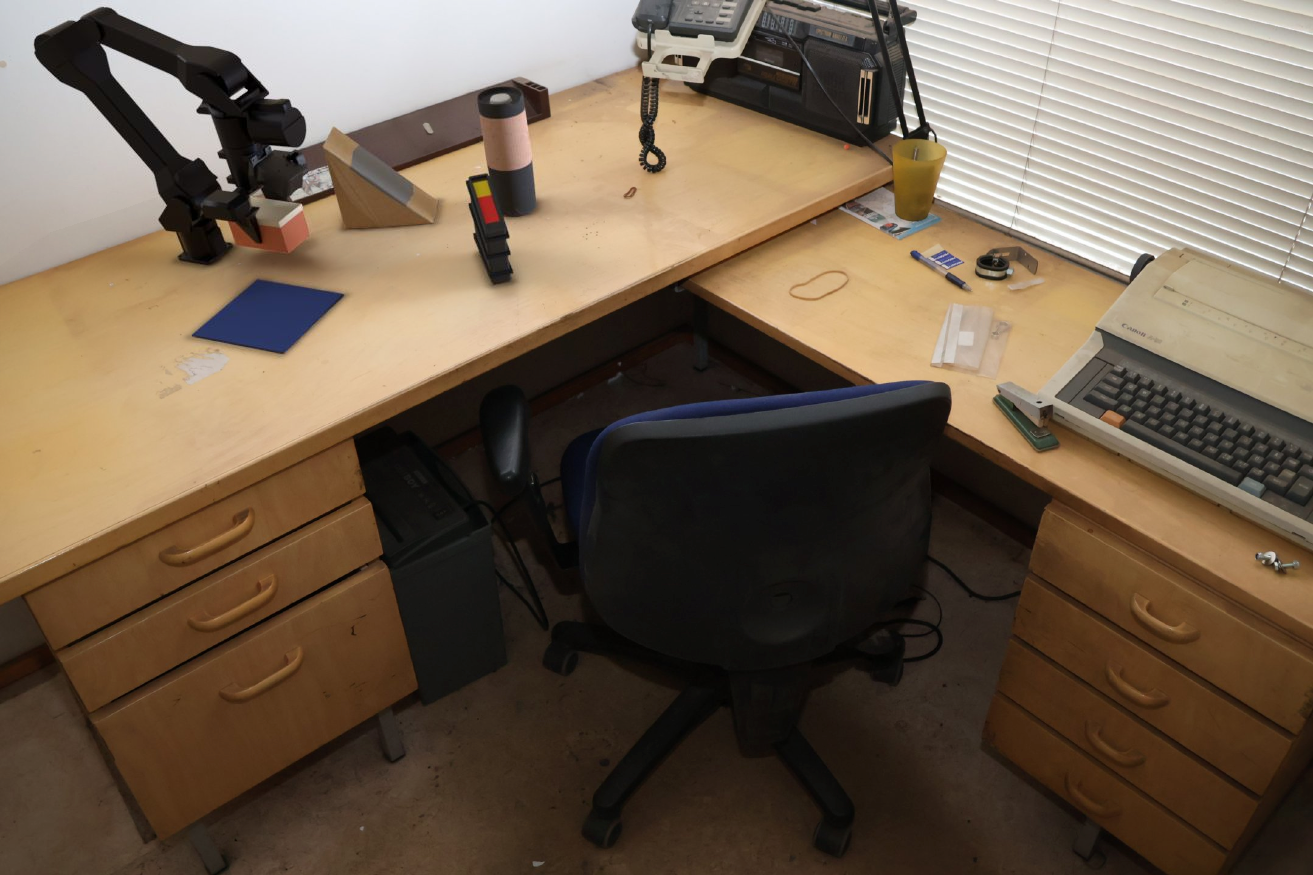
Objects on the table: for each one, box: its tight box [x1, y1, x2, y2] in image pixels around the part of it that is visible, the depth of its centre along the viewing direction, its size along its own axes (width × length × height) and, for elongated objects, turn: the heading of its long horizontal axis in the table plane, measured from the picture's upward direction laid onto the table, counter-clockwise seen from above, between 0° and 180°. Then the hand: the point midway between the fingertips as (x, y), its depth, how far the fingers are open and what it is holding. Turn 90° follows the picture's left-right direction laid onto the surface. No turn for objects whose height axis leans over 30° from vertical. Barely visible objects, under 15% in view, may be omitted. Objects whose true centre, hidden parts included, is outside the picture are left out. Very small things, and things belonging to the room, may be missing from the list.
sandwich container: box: [322, 126, 439, 230], centre depth 170 cm, size 9×15×15 cm, turn 93°
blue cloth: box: [191, 278, 345, 355], centre depth 152 cm, size 16×16×1 cm
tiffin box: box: [227, 196, 311, 254], centre depth 160 cm, size 10×6×6 cm, turn 71°
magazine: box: [465, 172, 514, 285], centre depth 156 cm, size 4×13×15 cm
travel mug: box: [476, 85, 537, 218], centre depth 169 cm, size 8×8×20 cm
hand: (270, 233), depth 161 cm, fingers closed on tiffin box, 6 cm apart
